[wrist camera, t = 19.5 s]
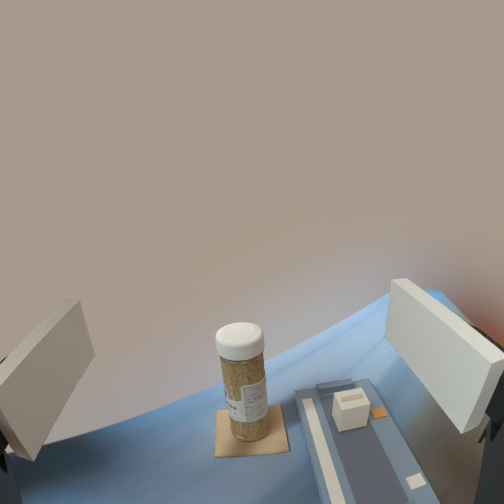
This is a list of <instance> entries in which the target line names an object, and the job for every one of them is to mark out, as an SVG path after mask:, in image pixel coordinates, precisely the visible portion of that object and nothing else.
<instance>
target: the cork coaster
mask: <svg viewBox="0 0 504 504" xmlns="http://www.w3.org/2000/svg"><path fill="white" fill-rule="evenodd" d="M267 421H268V423H269V430H268V433H267V434H266V435H265V436H264V437H262V438H260V439H258V440H255V441H243V440H239V439H237V438H236V437H234V436H233V435H232V433H231V430H230V418H229V413H228V409H220V410H217V413H216V431H215V450H214V457H236V456H251V455H263V454H273V453H282V452H289V447H288V442H287V437H286V432H285V427H284V421H283V416H282V411H281V406H280V405H272V406H267Z"/></svg>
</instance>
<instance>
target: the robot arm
mask: <svg viewBox="0 0 504 504" xmlns="http://www.w3.org/2000/svg"><path fill="white" fill-rule="evenodd" d="M384 337H385V338H386V339H387V340H388V342H389V343H390V344H391V345H392V346H393V348H394V349H395V350H396V351H397V352H398V354H399V355H400V356H401V357H402V359H403V360H404V361H405V362H406V364H407V365H408V366H409V367H410V369H411V370H412V371H413V372H414V373H415V375H416V376H417V377H418V379H419V380H420V381H421V382H422V384H423V385H424V386H425V387H426V389H427V390H428V391H429V392H430V394H431V395H432V396H433V398H434V399H435V400H436V401H437V403H438V404H439V405H440V407H441V408H442V409H443V410H444V412H445V413H446V414H447V416H448V417H449V418H450V420H451V421H452V422H453V424H454V425H455V426H456V428H457V429H458V430H459V432H460V433H461V434H463V433H465V432H467V431H469V430H471V429H474V428H476V427H478V426H479V424H480V422H481V420H482V418H483V416H484V414H485V413H486V414H487V415H488V416H489V417H490V420H489V422H488V424H487V426H486V428H485V429H484V431H483V433H482V435H481V437H480V439H479V441H478V443H481V442H482V440H483V438H484V437H485V446H484V453H483V460H482V466H481V472H480V478H479V483H478V488H477V492H476V497H475V501H474V504H504V348H503V347H502V346H500V345H499V344H498V343H497V342H494V340H493V339H492V338H490V337H489V336H487V335H486V334H485V333H484V332H483V331H481V330H480V329H479V328H477V327H475V326H473V325H470V324H468V323H466V322H465V321H463V320H462V319H461V318H459V317H458V316H457V315H456V314H454V313H453V312H452V311H450V310H449V309H448V308H446V307H445V306H444V305H442V304H441V303H440V302H438V301H437V300H436V299H434V298H433V297H432V296H430V295H429V294H428V293H426V292H425V291H423V290H422V289H421V288H419V287H418V286H416V285H415V284H414V283H412V282H411V281H409V280H408V279H407V278H404V279H396V280H391V289H390V298H389V306H388V314H387V321H386V328H385V335H384ZM94 356H95V353H94V350H93V346H92V343H91V340H90V336H89V333H88V330H87V326H86V323H85V318H84V314H83V311H82V307H81V302H80V300H65V301H64V302H63V303H62V304H60V305H59V306H58V307H57V308H56V309H55V310H54V311H53V312H52V313H51V314H50V315H49V316H48V317H47V318H46V319H45V320H44V321H43V322H42V323H40V325H39V326H37V327H36V328H35V329H34V330H33V331H32V332H31V333H30V334H29V335H28V336H27V337H26V338H25V339H24V340H23V341H22V342H21V343H20V344H19V345H18V346H17V348H16V349H14V350H13V352H12V353H11V354H10V355H9V356H7V357H6V358H4V359H3V360H2V361H1V362H0V504H22V501H21V497H20V494H19V491H18V488H17V484H16V481H15V477H14V474H13V470H12V466H11V462H10V458H9V456H8V454H7V453H6V451H5V449H6V447H7V445H8V444H9V445H10V447H11V448H12V449H13V451H14V452H15V454H16V455H17V456H19V457H22V458H25V459H28V460H31V461H35V459H36V457H37V455H38V453H39V451H40V449H41V447H42V445H43V443H44V441H45V440H46V438H47V436H48V434H49V432H50V430H51V429H52V427H53V425H54V423H55V421H56V420H57V418H58V416H59V414H60V413H61V411H62V409H63V407H64V406H65V404H66V402H67V400H68V399H69V397H70V395H71V394H72V392H73V390H74V388H75V387H76V385H77V383H78V381H79V380H80V379H81V377H82V375H83V374H84V372H85V370H86V369H87V367H88V365H89V364H90V362H91V361H92V359H93V358H94Z"/></svg>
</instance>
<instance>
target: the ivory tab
mask: <svg viewBox="0 0 504 504" xmlns="http://www.w3.org/2000/svg"><path fill="white" fill-rule="evenodd" d="M370 405H371V404H370V402H369V400H368V398H367V396H366V395H365V393H364V391H363V389H362V388H357V389H351V390H346V391H341V392H335V393H334V399H333V409H332V416H333V418H334V421H335V424H336V426H337V429H338V432H341V431H345V430H350V429H355V428H359V427H364V426H366V425H367V420H368V415H369V410H370Z"/></svg>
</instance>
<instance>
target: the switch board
mask: <svg viewBox="0 0 504 504" xmlns="http://www.w3.org/2000/svg"><path fill="white" fill-rule="evenodd" d="M357 388H362V389H363V391H364V393H365V395H366V396H367V398H368V400H369V402H370V404H371V405H370V410H369V415H368V420H367V425H366V426H364V427H359V428H355V429H350V430H345V431H341V432H338V429H337V426H336V424H335V421H334V418H333V416H332V409H333V399H334V393H335V392H341V391H346V390H351V389H357ZM295 403H296V407H297V410H298V414H299V418H300V422H301V426H302V430H303V434H304V438H305V442H306V446H307V449H308V453H309V457H310V461H311V465H312V469H313V473H314V477H315V481H316V485H317V489H318V493H319V497H320V501H321V504H440V502H439V500H438V498H437V496H436V494H435V493H434V491H433V489H432V487H431V485H430V484H429V482H428V480H427V478H426V476H425V475H424V473H423V471H422V469H421V468H420V466H419V464H418V462H417V461H416V459H415V457H414V455H413V454H412V452H411V450H410V448H409V447H408V445H407V443H406V441H405V440H404V438H403V436H402V434H401V433H400V431H399V429H398V428H397V426H396V424H395V422H394V421H393V419H392V417H391V416H390V414H389V412H388V411H387V409H386V407H385V406H384V404H383V402H382V401H381V399H380V397H379V396H378V394H377V392H376V391H375V389H374V387H373V386H372V384H371V382H370V381H369V379H364V380H359V381H354V382H353V381H352V379H347V380H341V381H335V382H329V383H323V384H317V386H316V388H313V389H306V390H299V391H295Z"/></svg>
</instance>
